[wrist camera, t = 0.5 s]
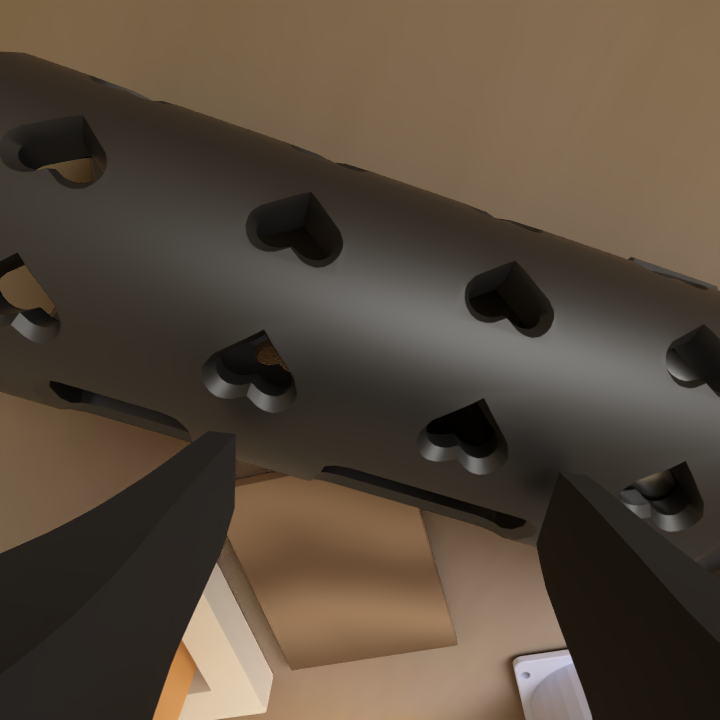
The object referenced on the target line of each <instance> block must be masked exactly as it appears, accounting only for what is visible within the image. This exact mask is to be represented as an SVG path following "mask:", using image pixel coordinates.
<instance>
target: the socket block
mask: <svg viewBox="0 0 720 720" xmlns="http://www.w3.org/2000/svg"><path fill="white" fill-rule="evenodd" d="M182 641H183V642H184V644H185V646H186V648H187V649H188V651H189V653H190V654H191V656H192V658H193V660H194V661H195V663H196V665H197V668H196V671H195V673H194V676H193V679H192V682H191V685H190V688H189V690H188V693H187V696H186V699H185V702H184V705H183V708H182V710H181V713H180V716H179V719H178V720H216V719H223V718H230V717H237V716H244V715H252V714H259V713H266V710H267V705H268V700H269V695H270V690H271V686H272V681H273V674H272V672H271V670H270V668H269V666H268V664H267V662H266V660H265V658H264V656H263V654H262V652H261V650H260V648H259V646H258V644H257V642H256V640H255V638H254V636H253V634H252V632H251V630H250V628H249V626H248V624H247V622H246V620H245V618H244V616H243V614H242V612H241V610H240V608H239V606H238V604H237V602H236V600H235V598H234V596H233V594H232V592H231V590H230V588H229V586H228V584H227V582H226V580H225V578H224V576H223V574H222V572H221V570H220V568H219V566H218V564H217V562H216V564H215V567H214V569H213V571H212V573H211V576H210V578H209V580H208V582H207V585H206V587H205V589H204V591H203V593H202V596H201V598H200V600H199V602H198V605H197V607H196V609H195V611H194V613H193V616H192V618H191V620H190V622H189V624H188V627H187V629H186V631H185V633H184V636H183V638H182Z"/></svg>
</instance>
